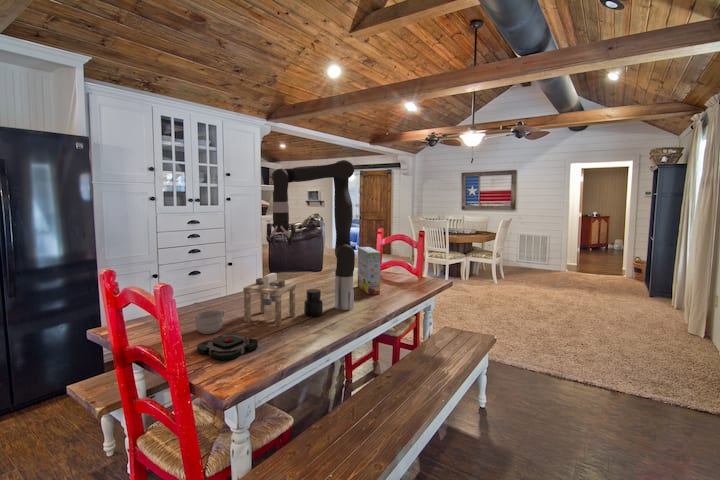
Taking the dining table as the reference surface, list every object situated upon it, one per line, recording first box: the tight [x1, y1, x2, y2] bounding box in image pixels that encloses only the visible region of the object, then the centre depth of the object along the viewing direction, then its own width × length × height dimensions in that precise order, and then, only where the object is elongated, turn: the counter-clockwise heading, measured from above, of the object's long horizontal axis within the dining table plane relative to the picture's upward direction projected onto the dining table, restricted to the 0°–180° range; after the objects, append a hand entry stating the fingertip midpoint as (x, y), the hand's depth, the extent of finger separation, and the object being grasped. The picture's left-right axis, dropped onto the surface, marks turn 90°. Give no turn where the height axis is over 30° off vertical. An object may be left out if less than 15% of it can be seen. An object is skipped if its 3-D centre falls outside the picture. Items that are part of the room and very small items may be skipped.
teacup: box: [194, 309, 225, 335], centre depth 162 cm, size 14×11×8 cm
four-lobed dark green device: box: [196, 333, 259, 361], centre depth 143 cm, size 18×18×5 cm
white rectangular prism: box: [262, 272, 278, 306], centre depth 177 cm, size 8×4×13 cm, turn 163°
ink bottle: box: [303, 288, 324, 318], centre depth 186 cm, size 10×9×12 cm
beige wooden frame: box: [242, 277, 297, 327], centre depth 178 cm, size 18×16×19 cm
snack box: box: [357, 246, 382, 295], centre depth 235 cm, size 22×9×26 cm, turn 17°
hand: (281, 245), depth 184 cm, fingers open, 8 cm apart
